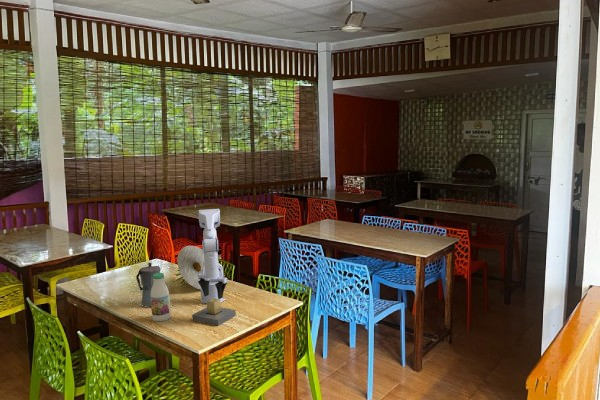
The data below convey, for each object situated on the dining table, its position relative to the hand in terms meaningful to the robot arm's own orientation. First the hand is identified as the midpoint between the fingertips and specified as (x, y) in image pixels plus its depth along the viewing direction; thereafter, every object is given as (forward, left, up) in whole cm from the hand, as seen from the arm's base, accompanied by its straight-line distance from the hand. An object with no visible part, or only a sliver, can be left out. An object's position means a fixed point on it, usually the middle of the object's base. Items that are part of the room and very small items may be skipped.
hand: (213, 296), depth 201 cm
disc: (-37, +30, -10) cm, 49 cm away
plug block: (0, 0, -9) cm, 9 cm away
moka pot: (-38, 0, -10) cm, 39 cm away
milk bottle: (-21, -10, -10) cm, 25 cm away
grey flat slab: (0, 0, -9) cm, 9 cm away
